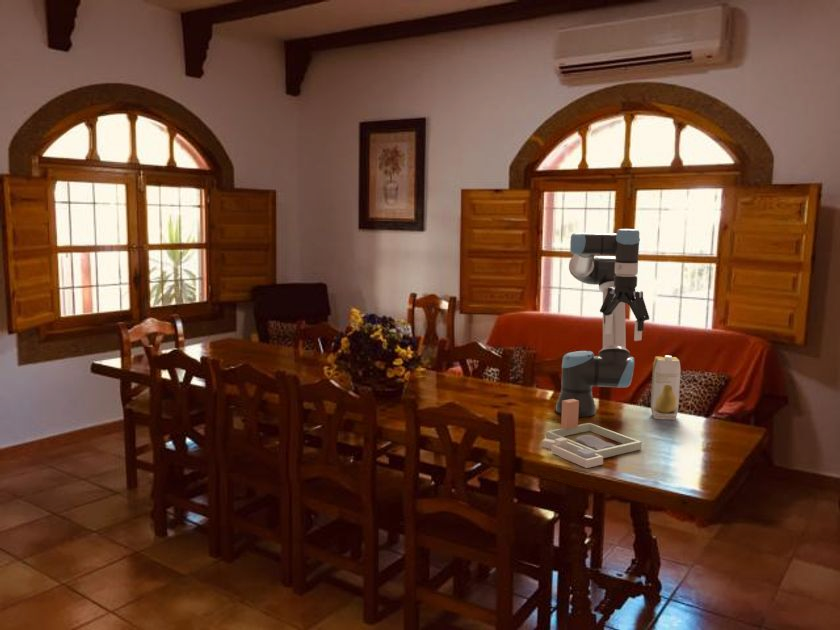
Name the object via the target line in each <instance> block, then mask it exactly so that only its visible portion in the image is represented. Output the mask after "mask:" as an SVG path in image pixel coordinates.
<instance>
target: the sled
mask: <svg viewBox="0 0 840 630" xmlns="http://www.w3.org/2000/svg"><path fill="white" fill-rule="evenodd" d="M567 439H568V438H567ZM567 439H564V438H558V439H555V444H554V445H552V448H550V449H551V453H552V454H553V455H556V456H558V457H560V458H562V459H565V460H567V461H569V462H571V463H574V464H575V465H576V464H577V466H578V465H579V466H580V467H583V468H585V469H589V468H592V467H593V468H594V467H597V466H601V465H604V458H603V456H601V455H598V454H596V453H595V457H592V458H588V459H586V458H583V457H581V456H579V455H576V454H577V450H580V449H584V448H582V447H579V446H577V445H574V444H572V443H570V442H567Z"/></svg>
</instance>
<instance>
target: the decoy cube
mask: <svg viewBox="0 0 840 630" xmlns="http://www.w3.org/2000/svg"><path fill="white" fill-rule="evenodd" d="M576 455H579V456H581V457H583V458H586V459H588V458H592V457H595V452H594V451H592V450H589V449H587V448H585V449H580V450H577V454H576Z"/></svg>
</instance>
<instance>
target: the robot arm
mask: <svg viewBox="0 0 840 630" xmlns="http://www.w3.org/2000/svg"><path fill="white" fill-rule="evenodd" d="M640 240H641V238H640V231H639V229H633V228H619V229H617V230H616V233H599V232H598V233H593V232H592V233H590V232H589V233H588V232H585V233H584V232H577V233H576V232H575V233H572V234H571V235H570V244H569V245H570V246H569V248H570V249H569V251H570V254H571V255H573V256H572V257H571V258H570V260H569V263H568V270H569V272H570V274H571V275H572V276H573V278H575V279H576V280H577V281H579V282H580V283H583V284H585V285H586V284H587V285H593V286H594V285H598V289H599V291H600V292H601V293H602V305H601V307H600V309H599V312H600V313H602V348H601V349H600V350H599V351H598V355H595V353H594V352H593V351H591V350H579V351H577V350H576V351H570V352H567V353H565V354H564V355H563V356H562V362H561V363H562V364H561V388H560V393H559V397H558V399H557V400H558V401H557V402H556V404H555V411H556V413H558V414H560V415H562V401H563V400H569V399H575V400H578V401H579V413H578V418H579V417H582V418H585V417H591V416H594V415H596V412H597V406H596V404H595V403H596V402H595V399H594V396H593V387H600V388H601V387H603V388H605V387H606V388H616V389H618V388H628V387H630V385H631V383H632V380H633V375H634V369H635V357H633V356H631V353H630V351H629V350H628V349H627V348H626V347H627V344H626V343H627V340H626V335H627V334H626V304H627V305H628V306H629V308H630V309H631V312H632V314H633V316H634V317H635V319H636V320H634V335H633V341H634V342H638V341H642V337H643V331H644V325H645V321H649V320H650V315H649V312H648V309H647V305H646V303H645V299H644V291H642V290H640V291H639V290H638V291H636V287H637V286H638V277H637V275H638V273H639V251H640V250H639V249H640Z"/></svg>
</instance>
